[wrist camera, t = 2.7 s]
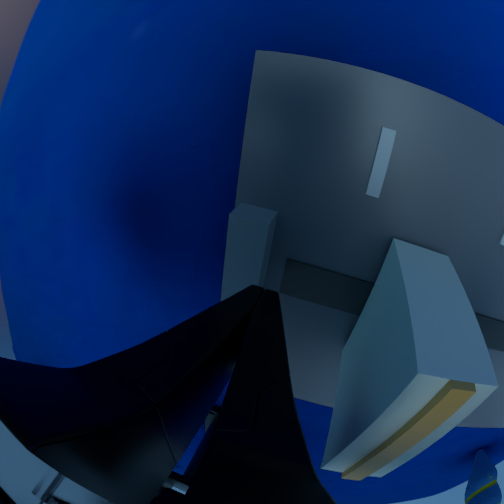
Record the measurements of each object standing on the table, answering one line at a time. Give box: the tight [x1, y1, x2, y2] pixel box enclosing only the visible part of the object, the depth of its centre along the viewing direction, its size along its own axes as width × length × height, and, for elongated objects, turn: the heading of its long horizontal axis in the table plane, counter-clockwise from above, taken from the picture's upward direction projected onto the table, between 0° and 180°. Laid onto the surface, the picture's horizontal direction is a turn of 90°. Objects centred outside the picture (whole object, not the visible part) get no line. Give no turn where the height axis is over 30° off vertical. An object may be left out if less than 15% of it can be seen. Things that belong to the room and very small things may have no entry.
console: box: [221, 50, 504, 428], centre depth 8 cm, size 14×24×3 cm, turn 82°
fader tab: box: [321, 238, 498, 481], centre depth 7 cm, size 5×2×5 cm, turn 172°
